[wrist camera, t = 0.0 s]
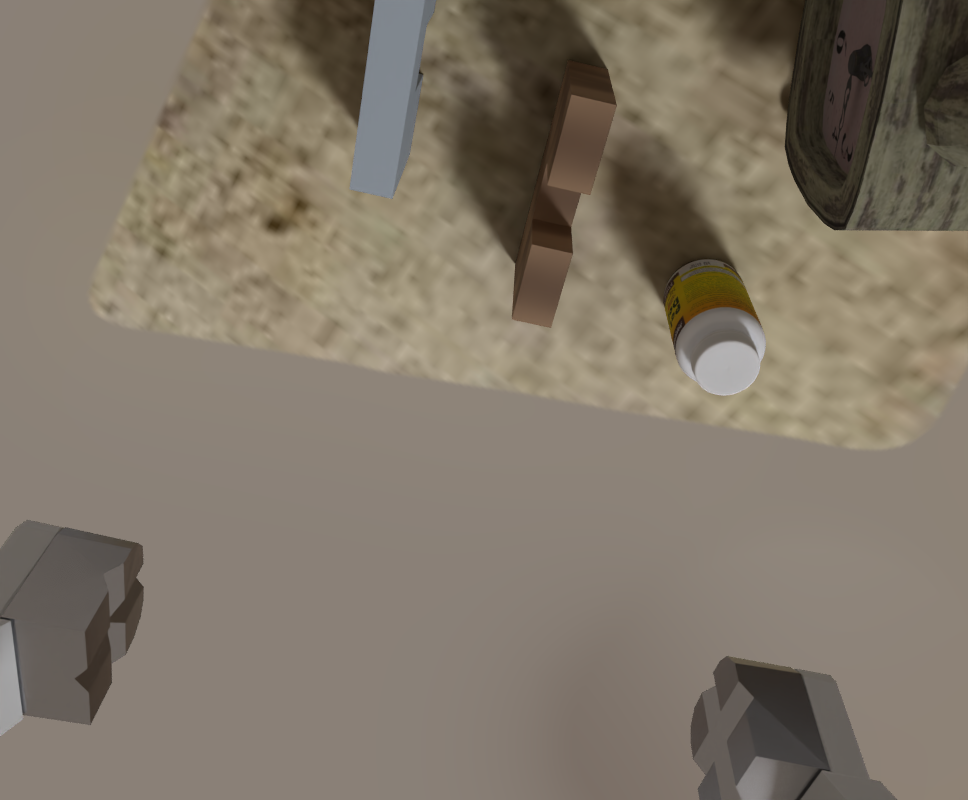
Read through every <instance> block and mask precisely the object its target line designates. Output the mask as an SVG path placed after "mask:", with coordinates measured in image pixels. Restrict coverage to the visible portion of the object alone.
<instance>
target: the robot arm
mask: <svg viewBox="0 0 968 800" xmlns="http://www.w3.org/2000/svg"><path fill="white" fill-rule="evenodd" d="M142 565H143V546H142V545H140V544H139V543H135V542H130V541H125V540H121V539H116V538H112V537H107V536H103V535H98V534H93V533H89V532H84V531H80V530H75V529H70V528H66V527H65V528H64V527H59V526H54V525H50V524H45V523H40V522H35V521H31V520H26V521H25V522H23V523H22V524H20V525H19V526H17V527H16V528H15V529H14V531H13V532H12V533H11V535H10V536H9V537H8V539H7V540H6V542H5V543H4V544H3V546H2V547H1V548H0V736H1V735H2V734H4V733H5V732H6V731H8V730H9V729H10V728H12V727H13V726H14V725H16V724H17V723H18V722H20V721H21V720H22V719H23V715H27V716H34V717H41V718H47V719H55V720H61V721H68V722H74V723H81V724H88V725H91V723H92V721H93V719H94V717H95V715H96V713H97V711H98V709H99V707H100V705H101V703H102V701H103V699H104V697H105V695H106V693H107V691H108V689H109V687H110V685H111V683H112V663H113V662H115V661H116V660H118V659H120V658H121V657H123V656H124V655H126V653H127V651H128V649H129V647H130V644H131V643H132V640H133V638H134V636H135V633H136V630H137V626H138V623H139V620H140V617H141V612H142V606H143V594H144V592H143V590H144V587H143V586H142V584H141V583H140V582H139V581H138V579H137V578H136V577H137V575H138V573H139V571H140V569H141V567H142ZM713 674H714V679H715V684H716V686H714V687H712V688H710V689H709V690H706V691H704V692H702V694H701V696H700V698H699V700H698V702H697V704H696V706H695V708H694V713H693V718H692V723H691V748H692V754H693V760H694V761H695V762H696V763H697V764H698V766H699V767H700V768H701V770H702V771H703V772H704V774H705V775H706V776H705V777H704V779H703V781H702V783H701V784H700V786H699V788H698V792H699V799H700V800H897V799H896V798H895V797H894V796H893V795H892V793H891V792H890V791H888V789H887V788H886V787H885V786H884V785H883V784H882V783H881V782H880V781H876V780H871V779H870V778H869V775H868V772H867V770H866V767H865V764H864V761H863V758H862V755H861V752H860V749H859V746H858V743H857V740H856V738H855V735H854V732H853V729H852V726H851V723H850V721H849V718H848V715H847V712H846V709H845V706H844V703H843V700H842V697H841V694H840V692H839V689H838V686H837V683H836V681H835V680H834V679H833V678H832V677H831V676H830V675H827V674H821V673H816V672H811V671H805V670H800V669H792V668H791V667H785V666H779V665H774V664H768V663H763V662H757V661H752V660H746V659H741V658H735V657H729V656H726V657H725V658H723V659H722V660H721V661H720V662H719V664H718V665H717V667H716V669H715V671H714V672H713Z"/></svg>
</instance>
